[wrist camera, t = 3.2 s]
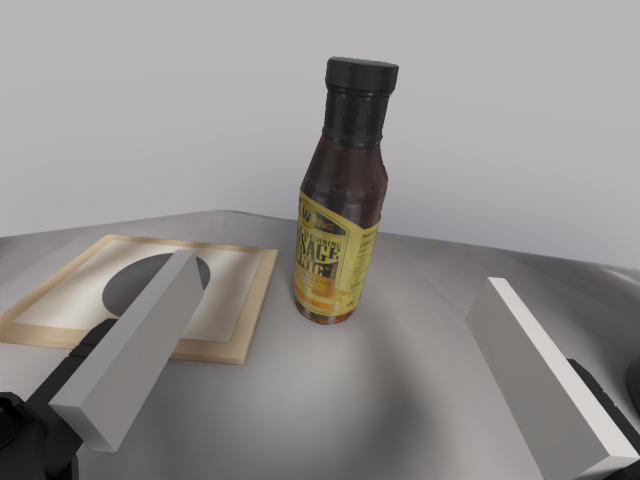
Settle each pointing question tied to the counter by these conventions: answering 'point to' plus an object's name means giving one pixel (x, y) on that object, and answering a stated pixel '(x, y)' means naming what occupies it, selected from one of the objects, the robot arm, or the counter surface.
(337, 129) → the sauce bottle
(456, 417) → the counter surface
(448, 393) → the counter surface
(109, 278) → the wooden picture frame
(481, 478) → the counter surface
